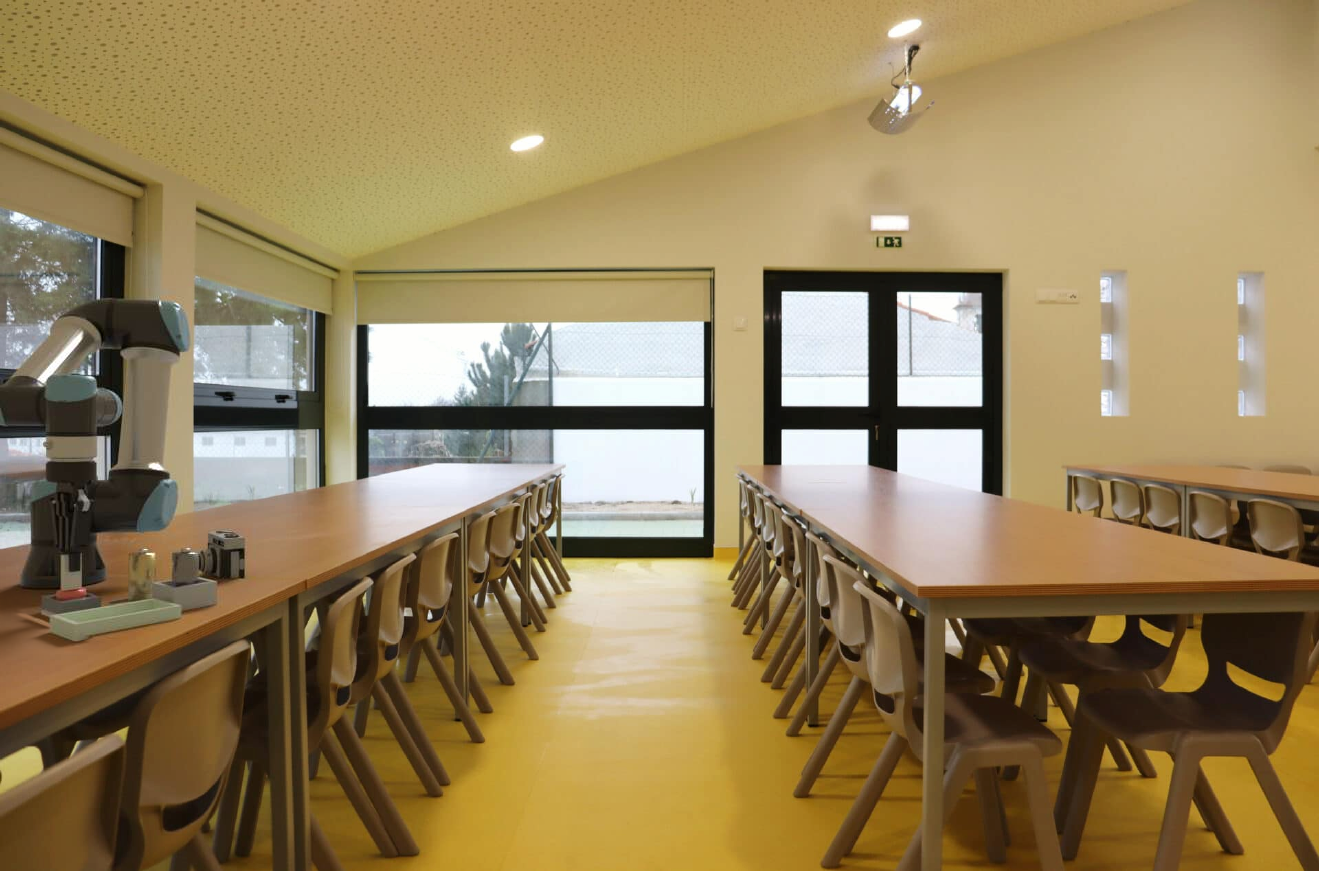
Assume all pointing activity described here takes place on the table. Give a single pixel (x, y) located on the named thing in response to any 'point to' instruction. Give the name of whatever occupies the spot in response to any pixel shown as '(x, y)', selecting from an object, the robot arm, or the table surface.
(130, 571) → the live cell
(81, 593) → the button
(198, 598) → the bin
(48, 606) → the button housing
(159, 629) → the table surface
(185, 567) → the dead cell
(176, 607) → the trough
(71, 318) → the robot arm
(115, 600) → the empty grey frame
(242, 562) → the camera
